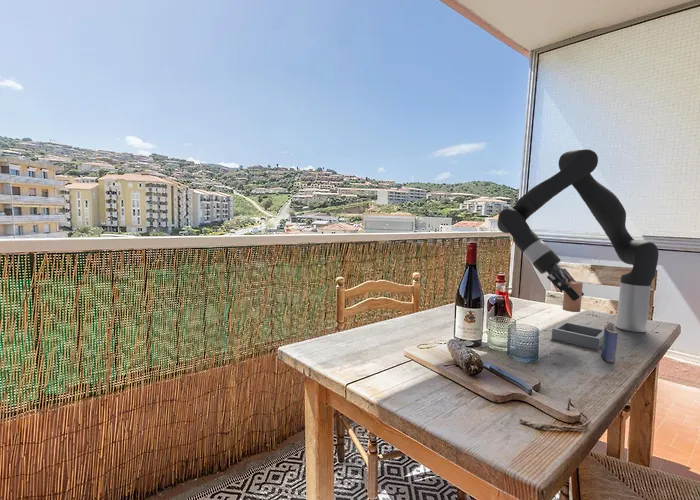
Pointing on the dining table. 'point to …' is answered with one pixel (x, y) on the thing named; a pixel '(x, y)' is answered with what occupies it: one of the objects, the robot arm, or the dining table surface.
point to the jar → (568, 302)
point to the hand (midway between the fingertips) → (579, 297)
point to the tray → (579, 335)
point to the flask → (609, 343)
